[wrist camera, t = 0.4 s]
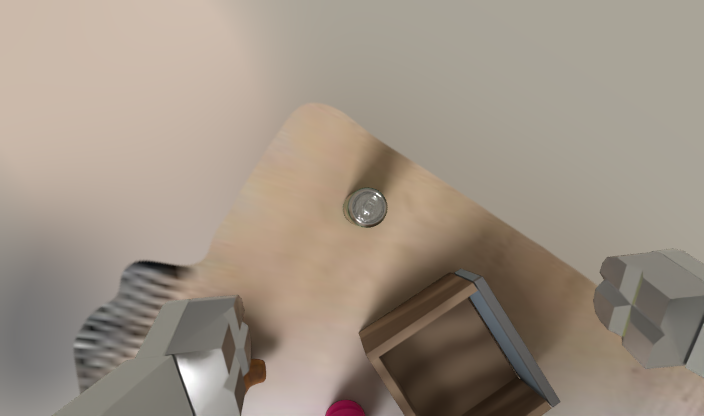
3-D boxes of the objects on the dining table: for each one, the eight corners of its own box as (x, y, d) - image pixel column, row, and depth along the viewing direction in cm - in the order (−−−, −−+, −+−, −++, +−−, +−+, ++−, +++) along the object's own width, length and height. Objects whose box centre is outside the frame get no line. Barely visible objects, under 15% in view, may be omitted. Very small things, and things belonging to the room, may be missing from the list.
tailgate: (529, 377, 61) (560, 401, 53) (522, 382, 61) (552, 407, 53) (461, 268, 61) (482, 276, 53) (454, 273, 60) (474, 281, 53)
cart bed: (516, 379, 63) (551, 408, 53) (427, 441, 61) (447, 482, 52) (449, 272, 62) (473, 282, 52) (358, 332, 61) (365, 354, 51)
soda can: (336, 214, 61) (340, 214, 49) (353, 186, 61) (362, 179, 49) (364, 231, 61) (375, 235, 49) (381, 203, 61) (396, 200, 49)
